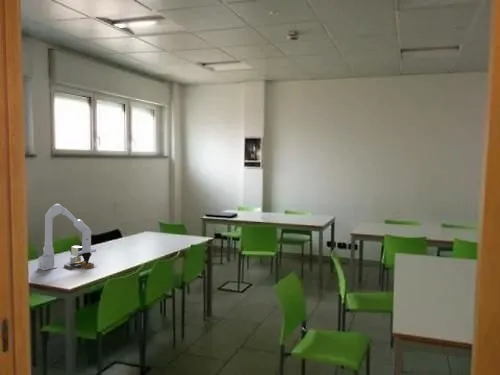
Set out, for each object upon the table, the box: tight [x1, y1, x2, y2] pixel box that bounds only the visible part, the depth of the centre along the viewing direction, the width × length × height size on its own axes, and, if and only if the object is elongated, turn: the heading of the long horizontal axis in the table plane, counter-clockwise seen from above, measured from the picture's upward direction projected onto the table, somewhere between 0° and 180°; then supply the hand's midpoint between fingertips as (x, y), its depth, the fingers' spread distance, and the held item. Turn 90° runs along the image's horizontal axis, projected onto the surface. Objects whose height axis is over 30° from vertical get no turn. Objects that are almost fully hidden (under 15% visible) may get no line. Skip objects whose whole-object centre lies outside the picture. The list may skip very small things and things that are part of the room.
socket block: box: [63, 263, 82, 270], centre depth 293 cm, size 8×8×2 cm
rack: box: [81, 262, 95, 270], centre depth 294 cm, size 6×6×3 cm
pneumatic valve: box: [69, 244, 83, 262], centre depth 311 cm, size 6×12×12 cm, turn 59°
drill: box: [69, 256, 76, 266], centre depth 293 cm, size 3×3×7 cm
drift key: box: [75, 260, 86, 265], centre depth 298 cm, size 7×2×3 cm, turn 144°
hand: (86, 263), depth 302 cm, fingers closed
